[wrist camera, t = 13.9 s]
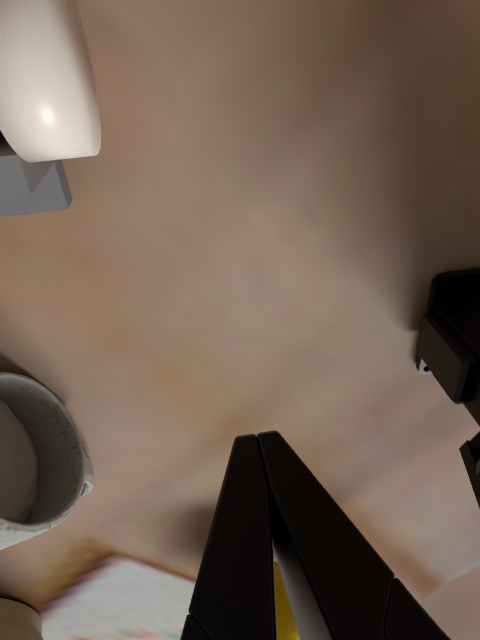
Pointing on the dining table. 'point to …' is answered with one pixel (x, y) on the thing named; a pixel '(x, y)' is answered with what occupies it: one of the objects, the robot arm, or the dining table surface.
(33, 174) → the mount
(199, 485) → the dining table surface
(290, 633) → the apple
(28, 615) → the planter bowl
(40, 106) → the knob
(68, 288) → the dining table surface
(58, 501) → the ceramic mug
